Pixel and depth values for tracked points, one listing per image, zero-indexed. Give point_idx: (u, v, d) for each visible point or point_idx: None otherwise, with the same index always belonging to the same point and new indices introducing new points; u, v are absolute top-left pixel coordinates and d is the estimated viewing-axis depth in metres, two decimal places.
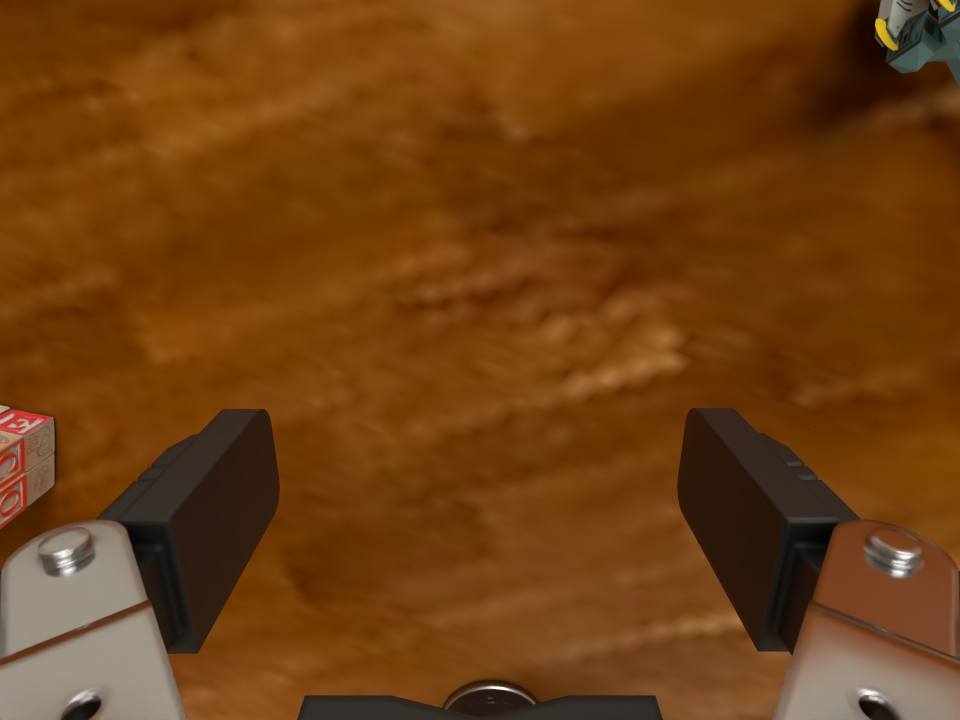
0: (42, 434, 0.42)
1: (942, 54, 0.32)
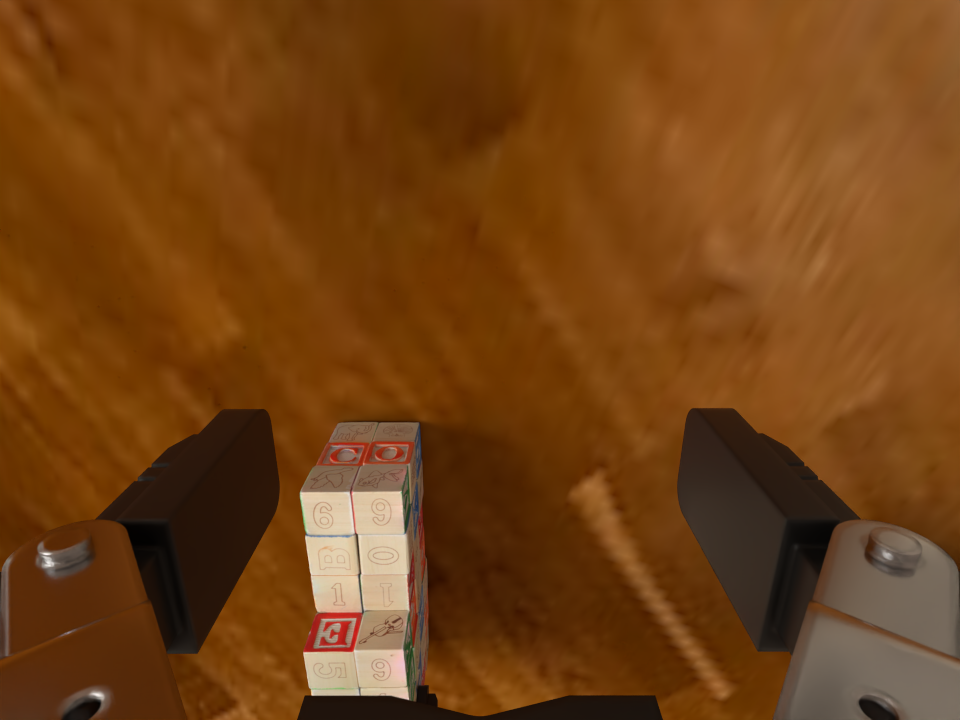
0: (344, 430, 0.41)
1: None
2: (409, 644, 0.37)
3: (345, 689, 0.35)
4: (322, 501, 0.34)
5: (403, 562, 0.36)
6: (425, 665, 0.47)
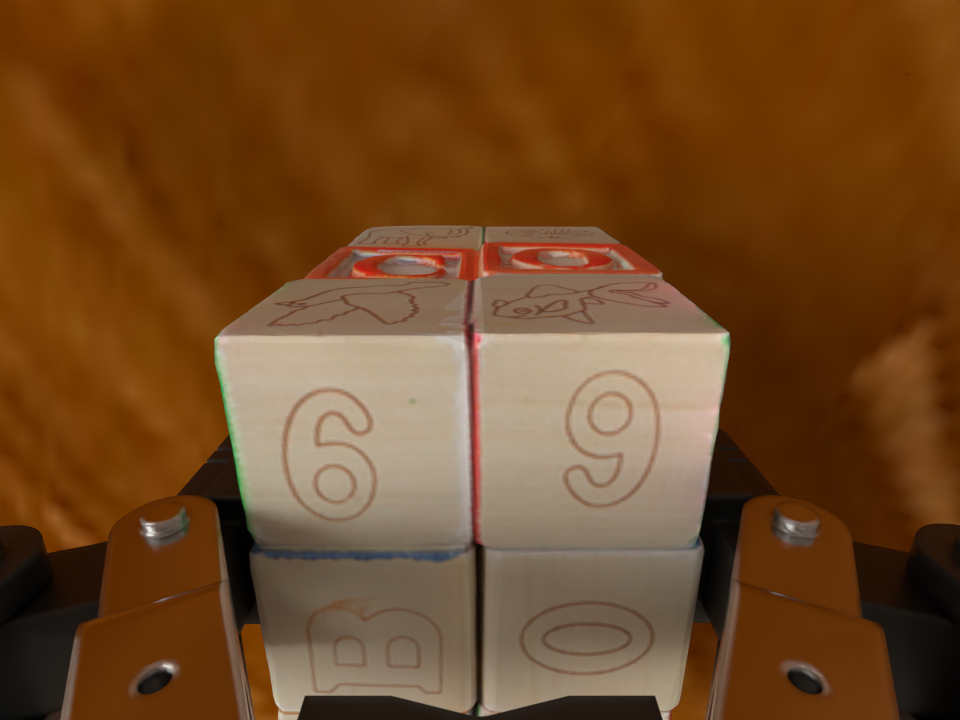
0: (391, 233, 0.14)
1: None
2: None
3: None
4: (326, 386, 0.07)
5: (669, 665, 0.08)
6: None
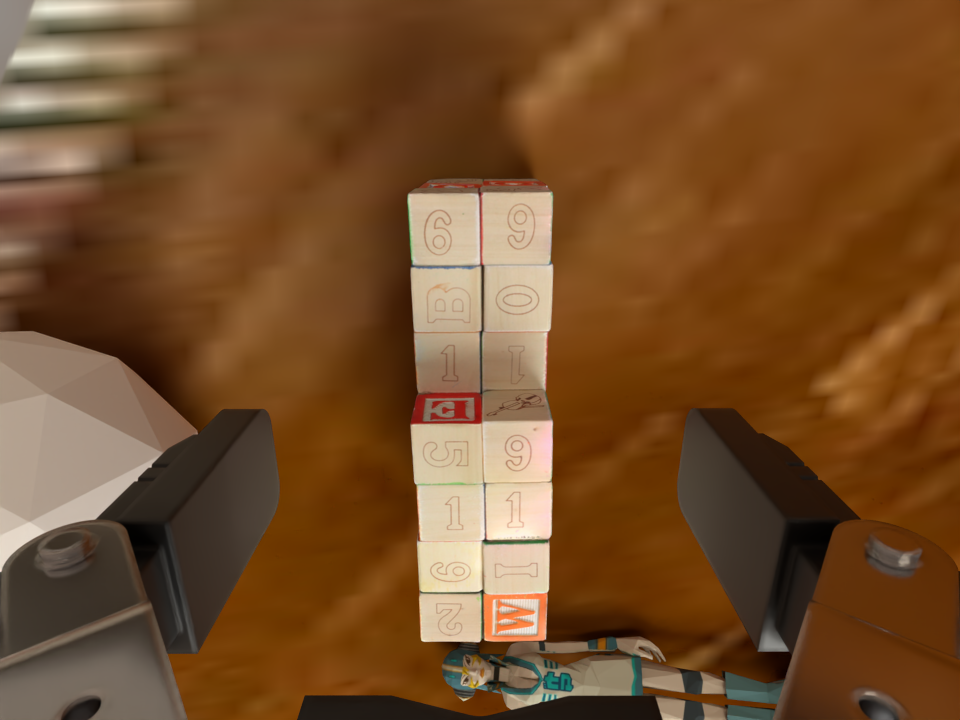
0: (441, 180, 0.31)
1: None
2: None
3: (464, 484, 0.25)
4: (438, 209, 0.24)
5: (545, 311, 0.26)
6: None
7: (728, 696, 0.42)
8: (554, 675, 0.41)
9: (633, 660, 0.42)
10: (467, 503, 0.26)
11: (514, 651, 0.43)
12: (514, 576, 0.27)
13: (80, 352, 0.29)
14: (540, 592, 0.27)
